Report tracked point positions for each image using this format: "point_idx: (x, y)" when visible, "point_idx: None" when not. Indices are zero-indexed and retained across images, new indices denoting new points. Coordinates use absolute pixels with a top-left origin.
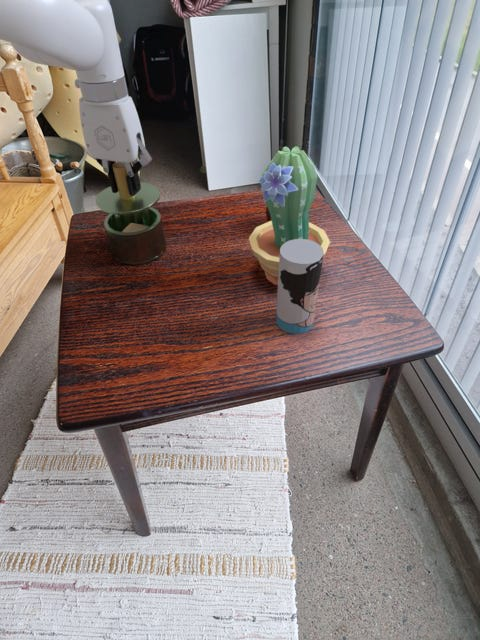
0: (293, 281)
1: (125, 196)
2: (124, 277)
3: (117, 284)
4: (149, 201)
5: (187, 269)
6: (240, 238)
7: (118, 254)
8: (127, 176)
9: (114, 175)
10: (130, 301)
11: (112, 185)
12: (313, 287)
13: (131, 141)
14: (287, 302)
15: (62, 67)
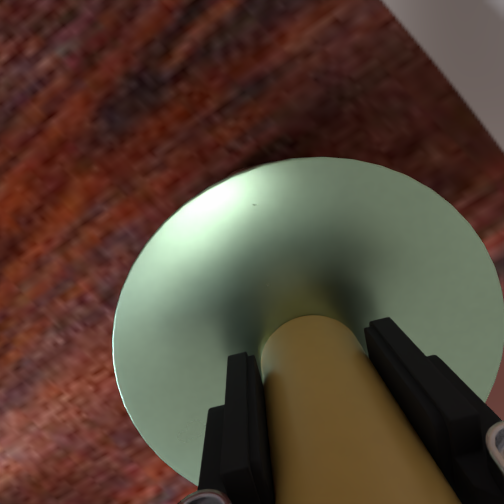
0: None
1: (287, 334)
2: (202, 107)
3: (192, 63)
4: (150, 381)
5: (67, 254)
6: (58, 448)
7: (274, 161)
8: (243, 478)
9: (425, 439)
10: (84, 16)
11: (397, 349)
12: None
13: None
14: None
15: None
